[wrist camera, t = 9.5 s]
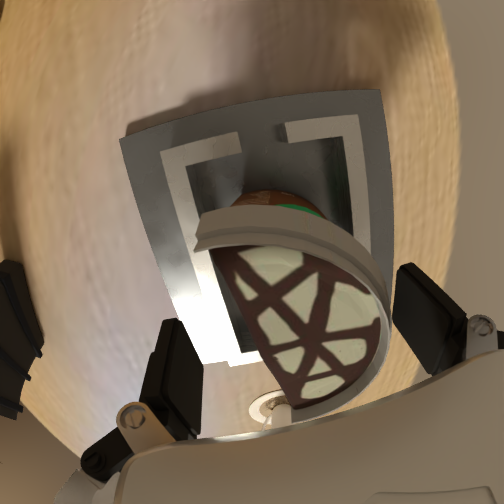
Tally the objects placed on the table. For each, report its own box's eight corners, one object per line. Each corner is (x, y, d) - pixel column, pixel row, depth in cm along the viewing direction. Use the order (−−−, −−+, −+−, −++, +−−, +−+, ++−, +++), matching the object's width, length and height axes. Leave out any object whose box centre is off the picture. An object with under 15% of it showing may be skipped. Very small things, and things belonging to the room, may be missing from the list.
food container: (363, 297, 21) (400, 401, 12) (291, 318, 22) (294, 427, 13) (325, 142, 16) (385, 171, 7) (232, 173, 17) (185, 236, 8)
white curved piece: (325, 381, 28) (333, 409, 24) (315, 416, 31) (321, 440, 28) (247, 389, 28) (249, 418, 24) (249, 423, 31) (251, 448, 27)
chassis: (124, 138, 17) (102, 141, 13) (373, 90, 16) (398, 85, 13) (201, 356, 25) (198, 384, 22) (384, 316, 24) (399, 338, 21)
